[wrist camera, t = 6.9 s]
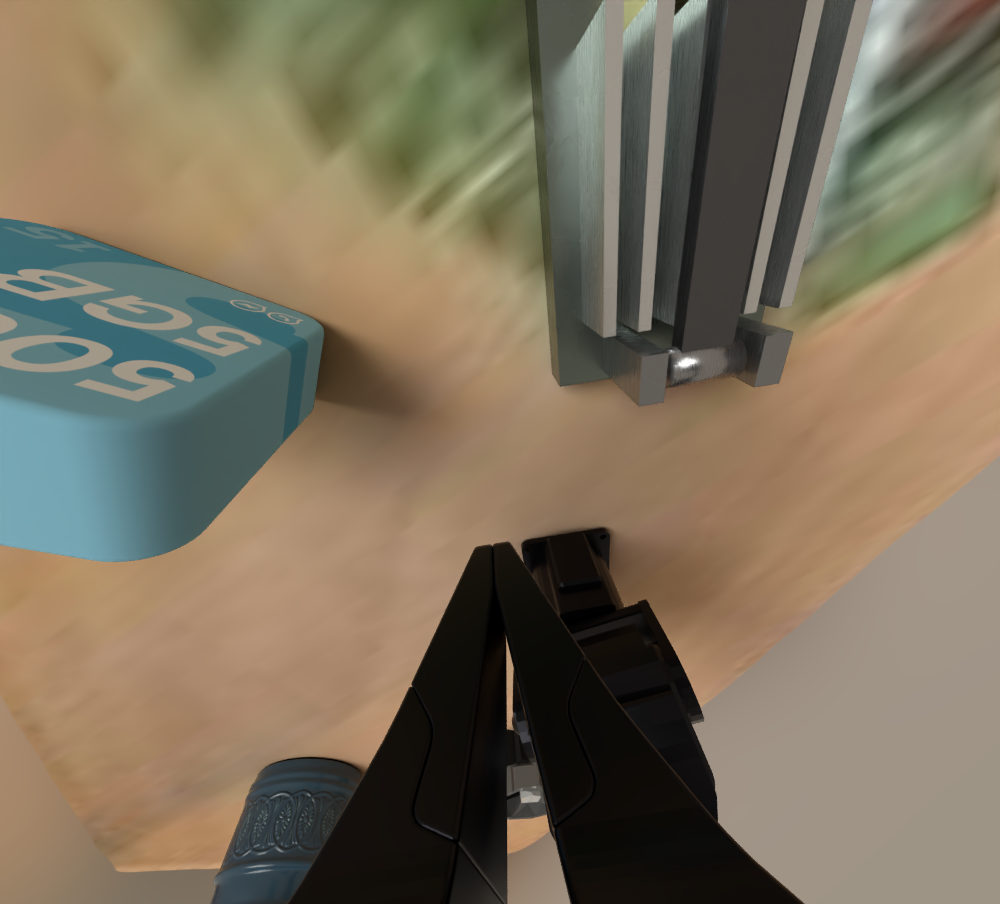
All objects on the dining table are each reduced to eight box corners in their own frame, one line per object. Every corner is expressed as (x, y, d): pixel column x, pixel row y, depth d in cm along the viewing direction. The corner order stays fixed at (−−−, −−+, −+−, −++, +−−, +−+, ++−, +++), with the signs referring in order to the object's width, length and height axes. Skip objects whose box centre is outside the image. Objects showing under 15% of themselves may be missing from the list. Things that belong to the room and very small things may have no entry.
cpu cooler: (542, 824, 44) (469, 818, 41) (534, 766, 49) (468, 757, 46) (592, 794, 40) (515, 785, 37) (578, 733, 45) (509, 721, 42)
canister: (231, 771, 43) (101, 1064, 28) (326, 745, 41) (245, 1041, 26) (299, 803, 49) (224, 1053, 34) (384, 782, 48) (345, 1034, 33)
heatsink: (729, 344, 20) (830, 386, 14) (552, 373, 20) (584, 426, 14) (813, -98, 12) (1106, -382, 7) (522, -46, 12) (567, -281, 7)
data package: (335, 323, 18) (155, 439, 8) (322, 402, 20) (167, 577, 10) (34, 217, 15) (-932, 173, 5) (55, 323, 17) (-577, 455, 7)
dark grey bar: (717, 369, 16) (741, 382, 14) (653, 379, 16) (671, 394, 14) (813, -121, 9) (876, -184, 7) (700, -101, 9) (742, -159, 7)
